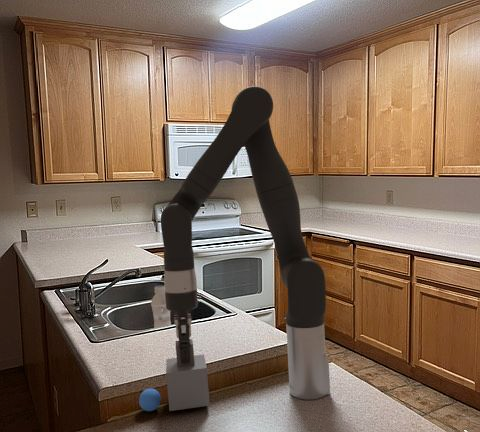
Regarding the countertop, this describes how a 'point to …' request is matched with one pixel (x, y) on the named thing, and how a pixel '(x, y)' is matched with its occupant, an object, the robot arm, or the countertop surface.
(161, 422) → the countertop surface
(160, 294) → the plastic bottle
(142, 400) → the ball
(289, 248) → the robot arm
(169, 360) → the stepped gray cube pair
